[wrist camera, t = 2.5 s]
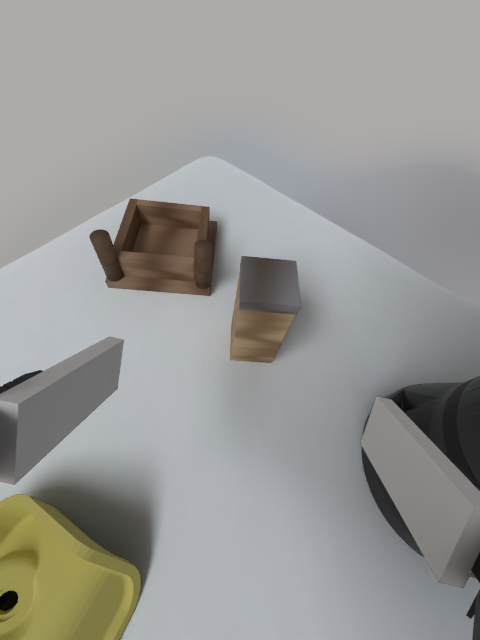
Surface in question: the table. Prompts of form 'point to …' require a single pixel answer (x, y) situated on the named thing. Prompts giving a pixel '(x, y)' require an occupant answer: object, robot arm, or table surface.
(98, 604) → the plastic component
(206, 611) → the table surface
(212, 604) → the table surface
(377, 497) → the robot arm
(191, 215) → the brown square open box
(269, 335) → the block
